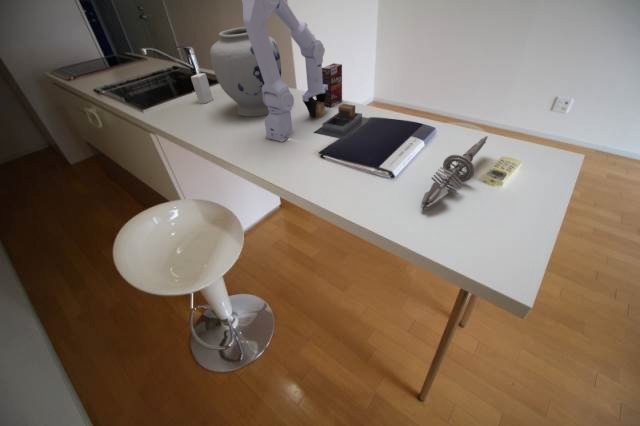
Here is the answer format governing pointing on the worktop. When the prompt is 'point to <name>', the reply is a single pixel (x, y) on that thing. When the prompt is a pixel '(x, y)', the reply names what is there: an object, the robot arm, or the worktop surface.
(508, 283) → the worktop surface
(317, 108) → the oak block
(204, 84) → the skincare box
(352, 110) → the brown wooden block
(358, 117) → the board
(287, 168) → the worktop surface
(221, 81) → the white ceramic vase
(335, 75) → the supplement box
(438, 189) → the spaceship
